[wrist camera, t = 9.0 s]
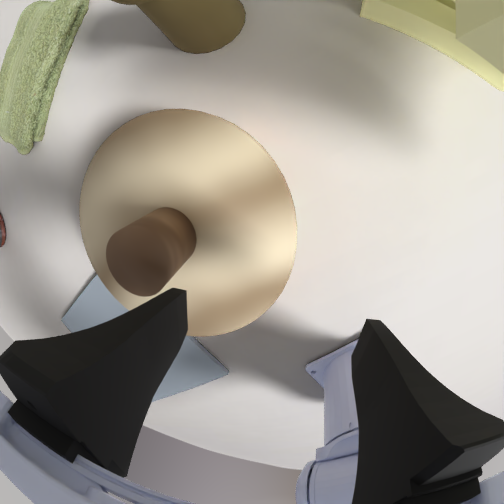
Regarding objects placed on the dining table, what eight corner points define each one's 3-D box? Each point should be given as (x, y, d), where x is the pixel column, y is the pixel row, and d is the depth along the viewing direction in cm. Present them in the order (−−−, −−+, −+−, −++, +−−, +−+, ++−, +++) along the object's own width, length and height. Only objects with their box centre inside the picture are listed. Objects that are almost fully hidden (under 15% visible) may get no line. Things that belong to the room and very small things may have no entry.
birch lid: (343, 269, 16) (357, 315, 12) (172, 352, 21) (148, 394, 17) (196, 60, 12) (157, 35, 8) (60, 207, 18) (16, 227, 13)
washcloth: (-3, 129, 21) (-20, 132, 18) (42, 4, 13) (25, 0, 10) (43, 156, 21) (21, 161, 18) (104, -2, 14) (84, -11, 11)
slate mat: (229, 371, 26) (228, 374, 26) (146, 401, 32) (145, 403, 32) (116, 252, 23) (113, 254, 23) (63, 318, 29) (61, 320, 28)
